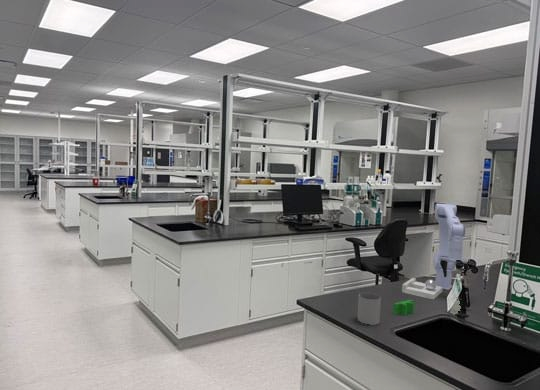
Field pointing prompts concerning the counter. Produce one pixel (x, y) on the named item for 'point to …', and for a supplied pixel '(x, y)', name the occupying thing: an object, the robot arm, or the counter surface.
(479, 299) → the counter surface
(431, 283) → the ball
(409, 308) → the pipe clamp
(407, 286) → the deck
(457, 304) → the valve
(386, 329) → the counter surface
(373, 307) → the cup
